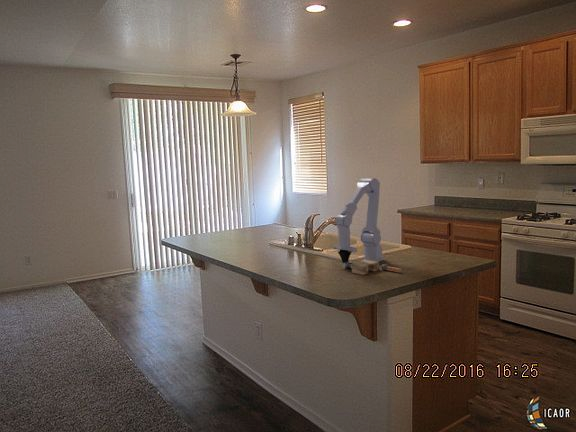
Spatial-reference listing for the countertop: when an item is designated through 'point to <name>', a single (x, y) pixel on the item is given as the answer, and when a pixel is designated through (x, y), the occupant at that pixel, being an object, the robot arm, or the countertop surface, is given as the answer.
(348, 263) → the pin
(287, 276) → the countertop surface
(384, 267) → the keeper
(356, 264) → the block
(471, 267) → the countertop surface
